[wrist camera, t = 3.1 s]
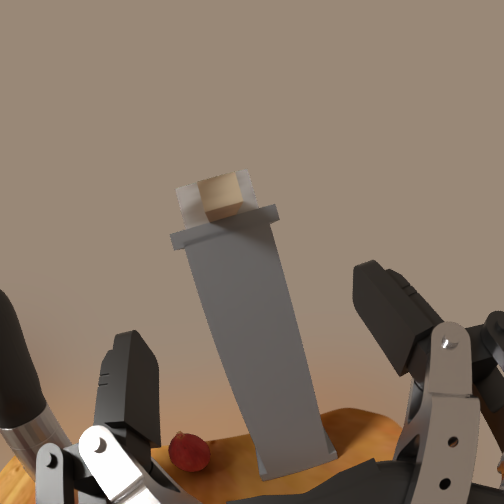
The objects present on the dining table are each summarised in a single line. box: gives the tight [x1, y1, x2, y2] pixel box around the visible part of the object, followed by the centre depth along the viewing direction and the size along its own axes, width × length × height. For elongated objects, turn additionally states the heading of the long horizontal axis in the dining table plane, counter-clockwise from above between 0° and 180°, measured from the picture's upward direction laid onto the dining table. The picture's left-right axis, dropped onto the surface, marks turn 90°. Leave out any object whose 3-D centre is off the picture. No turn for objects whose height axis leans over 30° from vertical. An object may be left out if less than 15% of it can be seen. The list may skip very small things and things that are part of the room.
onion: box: [168, 431, 211, 472], centre depth 31 cm, size 6×6×8 cm
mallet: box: [175, 169, 259, 229], centre depth 24 cm, size 7×14×4 cm, turn 7°
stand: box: [170, 204, 338, 481], centre depth 29 cm, size 10×6×32 cm, turn 95°
